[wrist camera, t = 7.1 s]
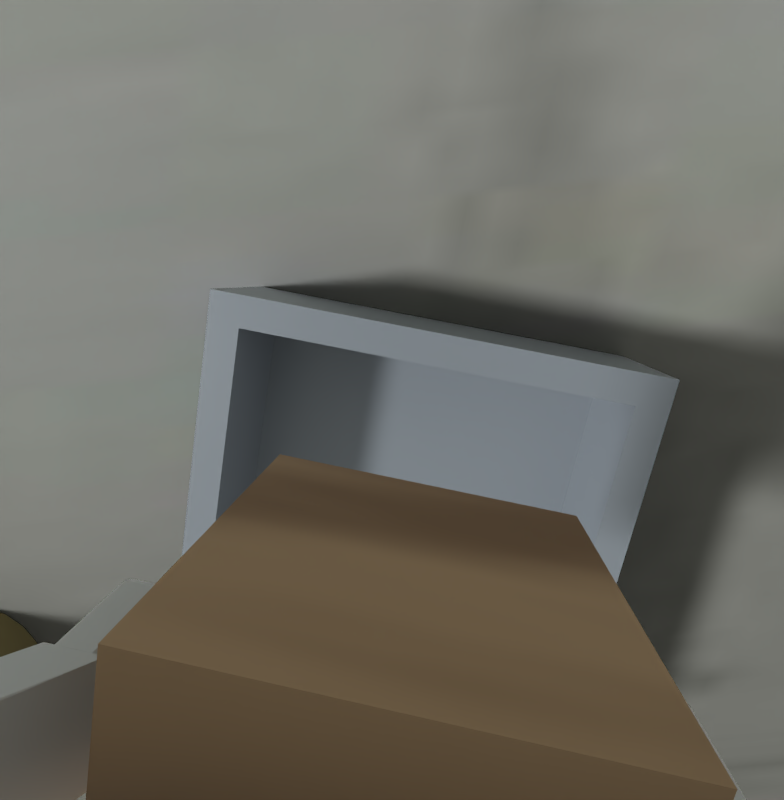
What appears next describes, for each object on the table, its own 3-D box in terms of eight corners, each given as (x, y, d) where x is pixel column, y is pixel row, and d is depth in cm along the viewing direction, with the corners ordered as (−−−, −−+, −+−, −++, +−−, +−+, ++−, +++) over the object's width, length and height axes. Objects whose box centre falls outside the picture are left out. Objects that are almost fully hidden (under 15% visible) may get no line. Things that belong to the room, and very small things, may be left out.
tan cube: (279, 454, 9) (99, 643, 4) (576, 515, 9) (738, 790, 4) (242, 704, 10) (64, 1082, 5) (506, 765, 10) (569, 1218, 5)
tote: (262, 286, 21) (210, 288, 16) (623, 356, 21) (680, 379, 16) (212, 678, 25) (158, 773, 20) (512, 745, 25) (530, 860, 20)
